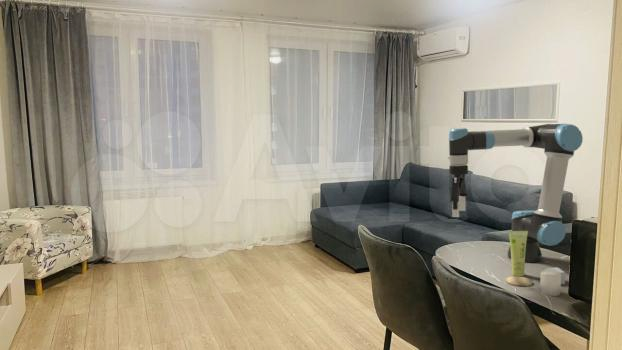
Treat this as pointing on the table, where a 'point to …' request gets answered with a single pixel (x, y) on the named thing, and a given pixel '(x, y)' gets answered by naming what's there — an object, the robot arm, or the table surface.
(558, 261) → the table surface
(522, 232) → the tube
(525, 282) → the trivet
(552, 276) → the white rounded cylinder
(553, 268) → the box
